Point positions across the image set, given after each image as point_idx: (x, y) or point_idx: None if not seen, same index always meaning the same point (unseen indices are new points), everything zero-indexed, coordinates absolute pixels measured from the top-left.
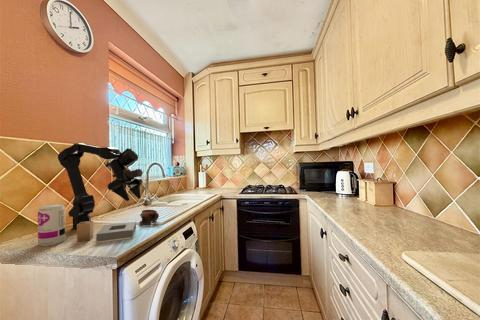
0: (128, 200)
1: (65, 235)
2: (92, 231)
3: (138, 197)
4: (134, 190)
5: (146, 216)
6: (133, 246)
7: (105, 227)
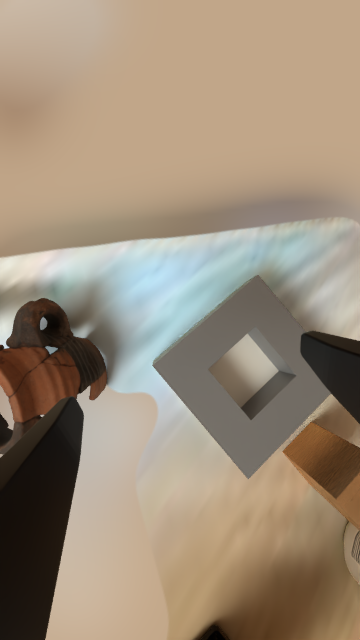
0: (308, 337)
1: (358, 539)
2: (307, 456)
3: (76, 424)
4: (4, 636)
5: (73, 361)
6: (295, 224)
7: (273, 431)
